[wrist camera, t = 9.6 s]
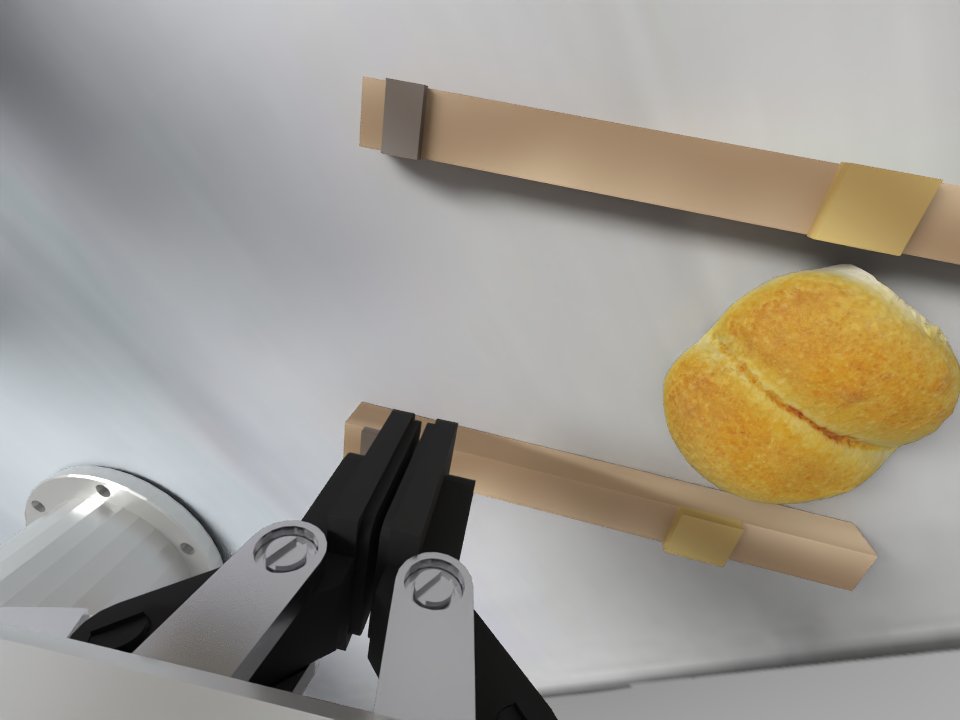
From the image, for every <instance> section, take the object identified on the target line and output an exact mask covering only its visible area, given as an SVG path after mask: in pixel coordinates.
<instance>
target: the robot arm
mask: <svg viewBox="0 0 960 720" xmlns="http://www.w3.org/2000/svg"><path fill="white" fill-rule="evenodd" d="M421 426H422V421H419V420H415V414H414V413H409V412H405V411H400V410H395V409H393V411H392V412H391V414H390V415H389V417H388V418H387V420H386V422H385V423H384V425H383V427H382V428H381V430H380V432H379V433H378V435H377V436H376V438H375V440H374V441H373V443H372V445H371V446H370V448H369V449H368V451H367V453H366V454H365V455H360V454H356V453H351V452H350V453H348V454H347V455H346V456H345V457H344V459H343V460H342V462H341V463H340V465H339V466H338V467H337V469H336V470H335V472H334V473H333V475H332V476H331V478H330V479H329V481H328V482H327V484H326V485H325V487H324V488H323V490H322V491H321V493H320V494H319V495H318V497H317V498H316V500H315V501H314V503H313V504H312V506H311V507H310V509H309V510H308V512H307V513H306V515H305V516H304V518H303V519H302V520H301V521H299V520H298V521H282V522H278V523H274V524H271V525H269V526H267V527H265V528H263V529H261V530H260V531H259V532H257V533H256V534H255V535H253V536H252V537H251V538H250V539H249V540H248V541H247V542H246V543H245V544H244V545H243V546H242V547H241V548H240V549H239V550H238V551H237V552H236V553H235V554H234V555H233V556H232V557H231V558H230V559H229V560H228V561H226V562H225V563H224V564H223V562H222V559H221V556H220V553H219V551H218V549H217V547H216V545H215V544H214V542H213V540H212V538H211V537H210V535H209V534H208V533H207V532H206V530H205V529H204V528H203V526H202V525H201V524H200V522H199V521H198V520H197V519H196V518H195V517H194V516H193V515H192V514H191V513H190V512H189V511H188V510H187V509H186V508H185V507H183V506H182V505H181V504H180V503H178V502H177V501H176V500H174V499H173V498H172V497H171V496H169V495H168V494H166V493H165V492H163V491H162V490H160V489H158V488H157V487H155V486H153V485H152V484H150V483H148V482H146V481H144V480H142V479H139V478H137V477H135V476H133V475H131V474H128V473H124V472H121V471H118V470H115V469H111V468H105V467H98V466H73V467H70V468H66V469H62V470H60V471H58V472H57V473H55V474H53V475H52V476H50V477H48V478H47V479H45V480H43V481H42V482H40V483H39V484H38V485H37V486H36V487H35V488H34V489H32V491H31V493H30V495H29V496H28V498H27V503H26V509H25V519H26V527H25V528H24V529H23V530H21V531H20V532H18V533H17V534H15V535H14V536H13V537H11V538H10V539H8V540H7V541H5V542H4V543H3V544H1V545H0V720H558V719H557V718H556V716H555V715H554V713H553V711H552V709H551V708H550V707H549V705H548V704H547V703H546V702H545V700H544V699H543V698H542V696H541V695H540V694H539V692H538V691H537V690H536V689H535V687H534V686H533V685H532V683H531V682H530V681H529V680H528V678H527V677H526V676H525V674H524V673H523V672H522V670H521V669H520V668H519V667H518V665H517V664H516V663H515V661H514V660H513V659H512V658H511V656H510V655H509V654H508V652H507V651H506V650H505V649H504V647H503V646H502V645H501V643H500V642H499V641H498V640H497V638H496V637H495V636H494V634H493V633H492V632H491V630H490V629H489V628H488V627H487V625H486V624H485V623H484V621H483V620H482V619H481V618H480V616H479V615H478V614H477V612H476V611H475V610H474V600H473V583H472V578H471V575H470V574H469V572H468V570H467V569H466V567H465V566H464V565H463V564H462V563H460V562H459V559H460V554H461V550H462V545H463V540H464V535H465V530H466V526H467V521H468V516H469V511H470V506H471V502H472V497H473V492H474V487H475V483H476V480H472V479H468V478H463V477H459V476H454V475H450V474H449V472H450V467H451V461H452V456H453V450H454V445H455V439H456V434H457V428H458V423H455V422H450V421H446V420H441V419H437V420H436V422H435V424H433V423H427V425H426V427H425V429H424V431H423V434H422V436H421V438H420V433H421ZM370 611H371V612H370ZM369 614H370V621H369V629H368V638H370V643H369V651H368V659H369V661H370V663H371V665H372V667H373V669H374V671H375V673H376V674H377V676H378V678H379V681H378V687H377V693H376V699H375V705H374V712H373V713H372V712H368V711H364V710H360V709H356V708H352V707H348V706H344V705H340V704H336V703H332V702H328V701H324V700H320V699H315V698H311V697H307V696H303V695H302V694H303V692H304V690H305V689H306V687H307V686H308V684H309V682H310V681H311V679H312V677H313V676H314V674H315V672H316V670H317V667H318V665H319V659H320V658H322V657H324V656H326V655H328V654H330V653H332V652H333V651H335V650H336V649H340V650H344V651H346V648H347V646H348V643H349V641H350V638H351V636H352V634H355V635H359V636H360V635H361V634H362V632H363V629H364V627H365V624H366V622H367V619H368V616H369Z"/></svg>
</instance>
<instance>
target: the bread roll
mask: <svg viewBox="0 0 960 720" xmlns="http://www.w3.org/2000/svg"><path fill="white" fill-rule="evenodd" d="M959 393H960V366H959V364H958V361H957V358H956V357H955V355H954V353H953V351H952V349H951V347H950V345H949V344H948V342H947V339H946V336H945V335H944V333H943V332H942V331H941V330H940V328H939V327H937V326H935V325H933V324H931V323H930V322H929V321H928V320H926V319H925V318H924V317H923V316H922V315H921V314H920V313H919V312H918V311H917V310H916V309H914V308H913V307H910V306H908V305H907V304H906V302H905V301H903V300H902V299H901V298H900V297H898V296H897V295H896V294H895V293H894V292H893V291H891V290H890V289H889V288H888V287H886V286H885V285H883V284H882V283H880V282H879V281H877V280H876V279H875V277H874V276H872V275H871V274H869V273H868V272H866V271H864V270H862V269H860V268H858V267H856V266H854V265H852V264H838V265H834V266H829V267H824V268H819V269H813V270H802V271H797V272H793V273H788V274H785V275H782V276H779V277H776V278H773V279H771V280H769V281H767V282H766V283H764V284H762V285H760V286H758V287H756V288H755V289H753V290H752V291H750V292H749V293H747V294H746V295H744V296H743V297H742V298H740V299H739V300H738V301H736V302H735V303H734V304H732V305H731V306H730V307H729V309H728V310H727V311H726V312H725V313H724V314H723V315H722V316H721V317H720V319H719V320H718V321H717V322H716V324H715V325H714V326H713V327H712V328H711V329H710V330H709V331H708V332H707V333H706V334H705V335H704V336H703V337H702V338H701V339H700V340H699V341H698V342H697V343H696V344H695V345H693V346H691V347H690V348H689V349H687V350H686V351H685V352H684V353H683V354H682V355H681V356H680V357H679V358H678V359H677V360H676V362H675V363H674V364H673V365H672V367H671V368H670V369H669V371H668V373H667V374H666V377H665V381H664V389H663V401H664V411H665V417H666V421H667V425H668V428H669V431H670V434H671V436H672V438H673V440H674V442H675V443H676V445H677V447H678V449H679V450H680V452H681V453H682V455H683V456H684V457H685V459H686V460H687V462H688V463H689V464H690V465H691V466H692V467H693V468H694V469H695V470H696V471H698V472H699V473H700V474H701V475H702V476H703V477H704V478H706V479H707V480H708V481H710V482H711V483H712V484H714V485H715V486H717V487H718V488H720V489H722V490H724V491H726V492H728V493H731V494H733V495H736V496H738V497H741V498H744V499H746V500H750V501H755V502H761V503H770V504H790V503H803V502H807V501H812V500H819V499H824V498H829V497H833V496H836V495H839V494H842V493H846V492H849V491H851V490H852V489H854V488H855V487H857V486H859V485H860V484H862V483H863V482H864V481H865V480H867V479H868V478H869V477H870V476H872V475H873V474H874V473H875V472H876V471H877V470H878V469H879V468H880V467H881V465H882V464H883V463H884V462H885V460H886V459H887V458H888V457H889V456H890V455H891V454H892V453H893V452H894V451H895V450H896V449H897V448H898V447H900V446H901V445H905V444H908V443H911V442H914V441H917V440H919V439H921V438H923V437H925V436H927V435H929V434H931V433H932V432H934V431H936V430H937V429H938V428H939V426H940V425H941V424H942V423H943V422H944V421H945V420H946V419H947V418H948V417H949V416H950V415H951V414H952V413H953V410H954V408H955V405H956V402H957V400H958V397H959Z"/></svg>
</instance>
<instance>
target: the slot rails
mask: <svg viewBox="0 0 960 720" xmlns="http://www.w3.org/2000/svg"><path fill="white" fill-rule="evenodd" d="M359 146H361V147H366V148H371V149H376V150H381V153H383V154H388V155H393V156H398V157H403V158H408V159H413V160H421V158H422V159H427V160H432V161H437V162H442V163H447V164H452V165H457V166H462V167H467V168H473V169H478V170H483V171H488V172H493V173H498V174H503V175H508V176H513V177H518V178H523V179H528V180H533V181H538V182H543V183H549V184H554V185H559V186H564V187H569V188H574V189H579V190H584V191H589V192H594V193H599V194H604V195H609V196H614V197H619V198H624V199H630V200H635V201H640V202H645V203H650V204H655V205H660V206H665V207H670V208H675V209H680V210H685V211H690V212H695V213H700V214H706V215H711V216H716V217H721V218H726V219H731V220H736V221H741V222H746V223H751V224H756V225H761V226H766V227H771V228H776V229H781V230H787V231H792V232H797V233H802V234H807V237H810V238H812V239H816V240H821V241H826V242H831V243H836V244H841V245H846V246H851V247H856V248H861V249H866V250H871V251H876V252H881V253H886V254H891V255H896V256H900V255H901V253H903V254H908V255H913V256H918V257H923V258H928V259H933V260H938V261H944V262H949V263H954V264H959V265H960V186H956V185H951V184H946V183H942V181H943V180H941V179H936V178H930V177H925V176H919V175H914V174H908V173H903V172H897V171H892V170H887V169H881V168H876V167H870V166H865V165H859V164H854V163H844V162H841V164H837V163H831V162H826V161H820V160H815V159H809V158H804V157H799V156H793V155H788V154H782V153H777V152H771V151H766V150H761V149H755V148H750V147H744V146H739V145H733V144H728V143H722V142H717V141H712V140H706V139H701V138H695V137H690V136H684V135H679V134H673V133H668V132H663V131H657V130H652V129H646V128H641V127H635V126H630V125H624V124H619V123H614V122H608V121H603V120H597V119H592V118H586V117H581V116H575V115H570V114H565V113H559V112H554V111H548V110H543V109H537V108H532V107H526V106H521V105H516V104H510V103H505V102H499V101H494V100H488V99H483V98H477V97H472V96H467V95H461V94H456V93H450V92H445V91H439V90H434V89H428V86H426V85H421V84H416V83H410V82H405V81H399V80H394V79H389V78H386V81H385V80H379V79H374V78H369V77H363V86H362V106H361V125H360V144H359ZM392 411H393V409H388V408H384V407H380V406H376V405H372V404H368V403H364V402H361V404H360V405H359V406H358V407H357V409H356V410H355V411H354V412H353V413H352V415H351V416H350V417H349V418H348V420H347V421H346V422H345V437H344V456H343V459H344V457H345V456H346V455H347V454H348V453H350V452H351V453H356V454H360V455H365V454H366V453H367V451H368V449H369V448H370V446H371V445H372V443H373V441H374V440H375V438H376V436H377V435H378V433H379V432H380V430H381V428H382V427H383V425H384V423H385V422H386V420H387V418H388V417H389V415H390V414H391V412H392ZM415 420H419V421H422V426H421V433H420V438H421V436H422V434H423V431H424V429H425V427H426V425H427V423H433V424H435V422H436V420H433V419H429V418H425V417H421V416H417V415H415ZM449 474H450V475H454V476H459V477H463V478H468V479H472V480H476V483H475V487H474V492H473V493H476V494H480V495H484V496H487V497H491V498H495V499H499V500H503V501H507V502H511V503H514V504H518V505H522V506H526V507H530V508H534V509H538V510H541V511H545V512H549V513H553V514H557V515H561V516H565V517H568V518H572V519H576V520H580V521H584V522H588V523H592V524H595V525H599V526H603V527H607V528H611V529H615V530H619V531H622V532H626V533H630V534H634V535H638V536H642V537H646V538H649V539H653V540H657V541H661V542H663V548H664V552H667V553H670V554H674V555H678V556H682V557H686V558H690V559H693V560H697V561H701V562H705V563H709V564H712V565H716V566H720V567H724V565H725V563H726V562H727V560H728V559H730V560H734V561H738V562H742V563H746V564H750V565H754V566H757V567H761V568H765V569H769V570H773V571H777V572H780V573H784V574H788V575H792V576H796V577H800V578H804V579H807V580H811V581H815V582H819V583H823V584H827V585H831V586H834V587H838V588H842V589H846V590H850V591H852V590H853V589H854V588H855V586H856V585H857V584H858V582H859V581H860V580H861V578H862V577H863V576H864V575H865V573H866V572H867V571H868V569H869V568H870V567H871V565H872V564H873V563H874V561H875V560H876V559H877V558H878V556H877V554H876V553H875V552H874V550H873V549H872V548H871V546H870V545H869V544H868V542H867V541H866V540H865V538H864V537H863V536H862V534H861V533H860V532H859V530H858V529H857V527H856V526H855V525H854V523H850V522H845V521H841V520H837V519H833V518H829V517H825V516H821V515H817V514H813V513H809V512H805V511H801V510H797V509H793V508H789V507H785V506H781V505H777V504H770V503H761V502H755V501H750V500H746V499H744V498H741V497H738V496H736V495H733V494H731V493H728V492H724V491H720V490H716V489H712V488H708V487H704V486H700V485H696V484H692V483H688V482H684V481H680V480H676V479H672V478H668V477H663V476H659V475H655V474H651V473H647V472H643V471H639V470H635V469H631V468H627V467H623V466H619V465H615V464H611V463H607V462H603V461H599V460H595V459H591V458H587V457H583V456H579V455H575V454H570V453H566V452H562V451H558V450H554V449H550V448H546V447H542V446H538V445H534V444H530V443H526V442H522V441H518V440H514V439H510V438H506V437H502V436H498V435H494V434H490V433H486V432H481V431H477V430H473V429H469V428H465V427H461V426H458V428H457V434H456V439H455V445H454V450H453V456H452V461H451V467H450V472H449Z"/></svg>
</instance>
